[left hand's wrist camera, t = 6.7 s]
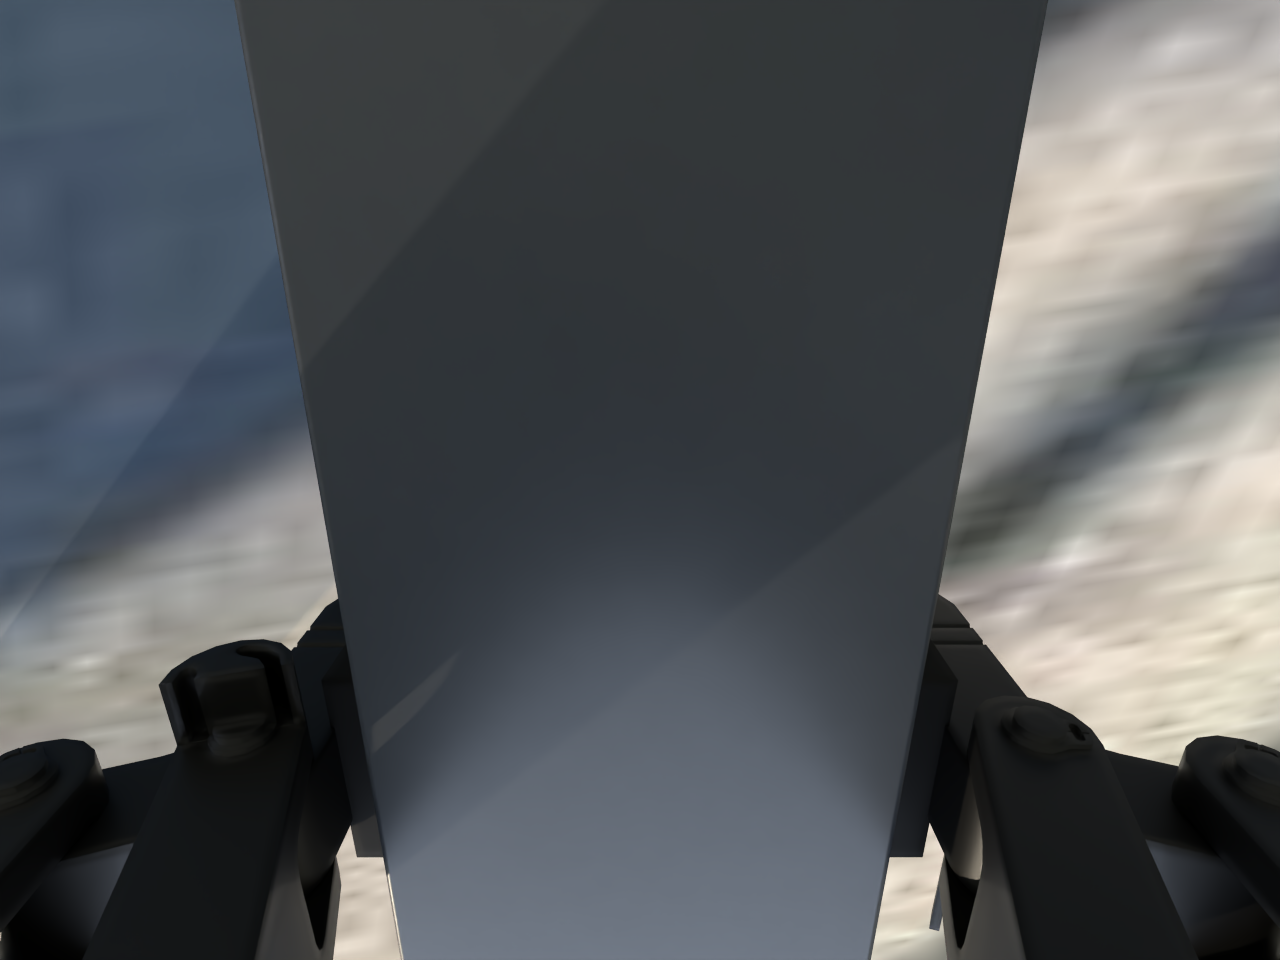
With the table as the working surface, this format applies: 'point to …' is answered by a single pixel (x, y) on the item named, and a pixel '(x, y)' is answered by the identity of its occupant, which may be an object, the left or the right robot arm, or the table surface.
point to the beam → (638, 437)
